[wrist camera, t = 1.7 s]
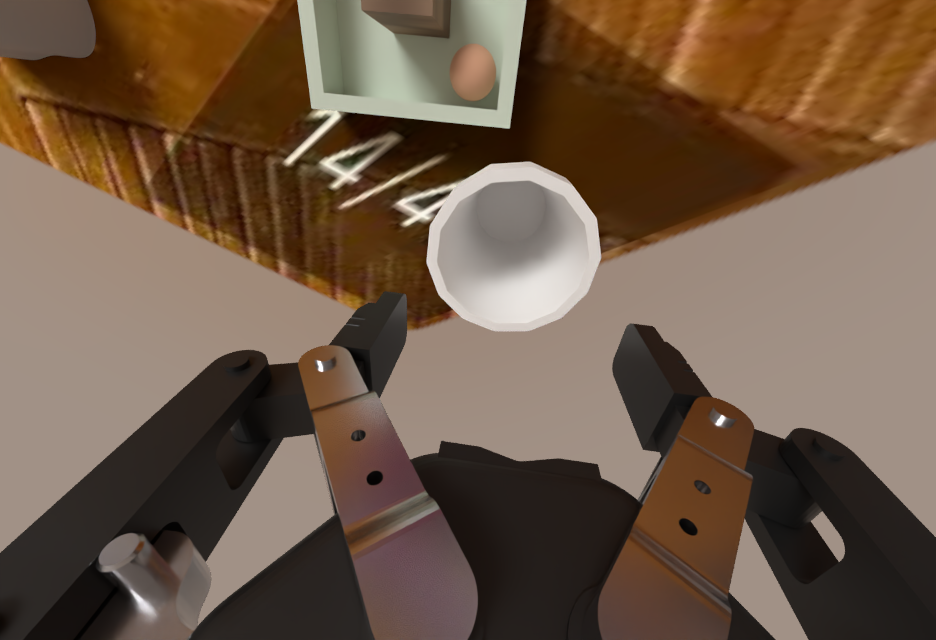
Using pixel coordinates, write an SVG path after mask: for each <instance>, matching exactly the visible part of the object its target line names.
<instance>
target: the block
mask: <svg viewBox="0 0 936 640" xmlns="http://www.w3.org/2000/svg"><path fill="white" fill-rule="evenodd" d="M361 10H362V11H363V12H365V13H366V14H367V15H369V16H370V17H372V18H373V19H374V20H376V21H377V22H378V23H380V24H381V25H383V26H384V27H385V28H387V29H388V30H390V31H391V32H392V33H395V34H406V35H417V36H428V37H439V38H449V37H450V15H451V0H361Z"/></svg>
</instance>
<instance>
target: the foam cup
mask: <svg viewBox="0 0 936 640" xmlns="http://www.w3.org/2000/svg"><path fill="white" fill-rule="evenodd" d="M600 260H601V252H600V243H599V234H598V225H597V218H596V217H595V216H594V214H593V213H592V211H591V210H590V209H589V207H588V206H587V205H586V203H585V202H584V200H583V199H582V198H581V196H580V195H579V194H578V192H577V191H576V189H575V188H574V187H573V185H572V184H571V183H570V182H569V181H568V180H567V179H566V178H565V177H563V176H561V175H558V174H556V173H554V172H552V171H550V170H548V169H545V168H543V167H541V166H539V165H537V164H535V163H532V162H516V163H501V164H490V165H489V166H487V167H485V168H484V169H482V170H480V171H479V172H477V173H475V174H474V175H472V176H470V177H469V178H467V179H465V180H464V181H462V182H460V183H459V184H457V186H456V187H455V188H454V189H453V190H452V192H451V193H450V195H449V196H448V198H447V200H446V201H445V203H444V204H443V206H442V207H441V209H440V211H439V212H438V214H437V215H436V217H435V219H434V220H433V222H432V223H431V225H430V231H429V241H428V252H427V262H426V263H427V265H428V268H429V270H430V273H431V276H432V278H433V281H434V284H435V286H436V289H437V292H438V294H439V296H440V297H441V298H442V299H443V300H444V301H445V302H446V303H447V304H448V305H449V306H450V307H451V308H452V309H453V310H454V311H455V312H456V313H457V314H458V315H460V316H461V317H462V318H463V319H465V320H467V321H470V322H472V323H475V324H477V325H480V326H482V327H485V328H487V329H490V330H492V331H531V330H533V329H536V328H538V327H541V326H543V325H546V324H548V323H551V322H553V321H556V320H558V319H561V318H562V317H563V316H564V315H565V314H566V313H567V312H569V310H571V309H572V308H573V307H574V306H575V304H577V303H578V302H579V301H580V300H581V299H582V298H583V297H584V296H585V295H586V294H587V293H588V291H589V288H590V285H591V283H592V280H593V278H594V275H595V273H596V270H597V267H598V265H599V262H600Z"/></svg>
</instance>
